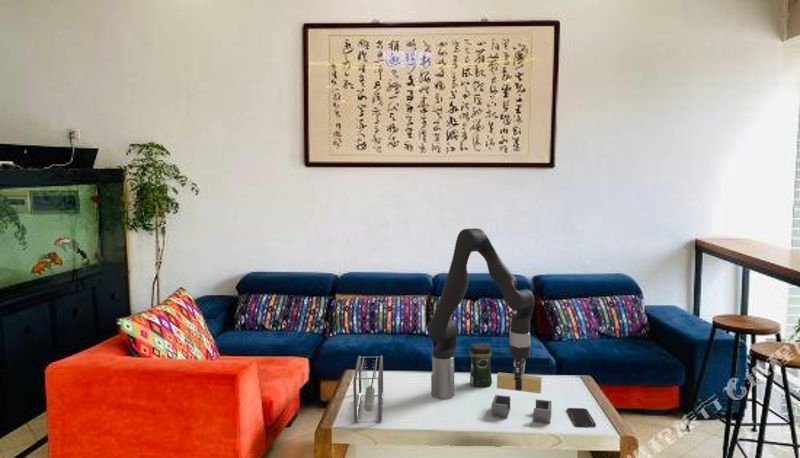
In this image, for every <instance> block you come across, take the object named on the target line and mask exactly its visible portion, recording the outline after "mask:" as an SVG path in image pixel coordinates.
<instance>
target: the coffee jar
mask: <svg viewBox="0 0 800 458" xmlns="http://www.w3.org/2000/svg"><path fill="white" fill-rule="evenodd" d="M469 348H470V349H469V355H470V357H471V358H470V359H471V362H470V363H471V364H470V366H471V367H470V375H469V383H470V385H471V386H473V387H476V388H477V387H478V388H479V387H480V388H481V387H482V388H483V387H490V386H492V384H493V378H492V370H491V369H492V368H491V358H492V357H491V356H492V355H493V354H492V346H491V345H490V343H489V342H485V343H471V344H470V345H469Z"/></svg>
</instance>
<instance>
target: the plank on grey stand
mask: <svg viewBox="0 0 800 458" xmlns="http://www.w3.org/2000/svg"><path fill="white" fill-rule="evenodd" d="M552 402H553V401H552V400H546V399H537V398H536V399H535V407H534V408H533V422H534V423H535V422H536V423H543V424H544V423H545V424H551V420H552V409H553V408H552V404H553V403H552ZM510 410H511V396H510V395H499V394H495V395H494V397H493V400H492V402H491V417H494V418H501V419H502V418H503V419H508V418H509V414H510Z"/></svg>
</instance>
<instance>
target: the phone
mask: <svg viewBox="0 0 800 458" xmlns="http://www.w3.org/2000/svg"><path fill="white" fill-rule="evenodd" d="M566 412H567V414H568V416H569V418H570V419H571V422H572V423H573V426H575V427H577V428H595V427H597V423H596V422H595V420H594V419H593V417H592V416H591V414H590V411H588V409H587V408H585V407H584V408H583V407H581V408H580V407H579V408H578V407H575V408H574V407H567V409H566Z"/></svg>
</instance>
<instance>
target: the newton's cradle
mask: <svg viewBox="0 0 800 458" xmlns="http://www.w3.org/2000/svg"><path fill="white" fill-rule="evenodd" d="M365 358H366V359H367V358H369V356H361V355H358V356H357V359H356V360H357V361H356V365H355V371H354V374H353V380H352V381H353V382H352V384H353V387H352V388H353V389H352V391H353V393H352V394H353V395H352V396H353V421H355V422H356V421H357V403H358V398H357V380H358V394H359V393H361V392H362V386H363V388H364V389H365V390H364V392H365V393H364V394H365V395H364V396H365V397H364V403H363V408H364V410H365V411H366V412H370V411H372V410H373V408H374V402H375V401H374V400H375V395H374V394H375V392H376V389H375V387H374V386H373V384H374V380H377V394H378V395H377V401H378V402H377V403H378V406H377V407H378V409H377V410H378V420H379V421H378V423H381V421H383V407H382V405H383V404H384V397H383V398H382V395H383V396H384V361H383V360H384V356H383V355H380V356H373V355H372V356H371V358H375V359H376V360H374V364H375V365H374V366H373V370H367V369H366V368H367V366H366V363H365ZM378 358H379V362H378ZM377 363H379V364H377ZM377 365H378V373H377ZM368 371H369V372H372V377H368V376H367V375H368V373H367V372H368ZM362 374H363V375H362ZM376 374H378V376H377V377H376ZM362 380H363V381H362ZM369 380H371V383H370V381H369ZM362 382H363V384H364V385H362ZM369 384H370V385H369ZM382 393H383V394H382ZM358 406H359V405H358ZM355 422H354V423H355ZM357 422H358V421H357Z"/></svg>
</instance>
